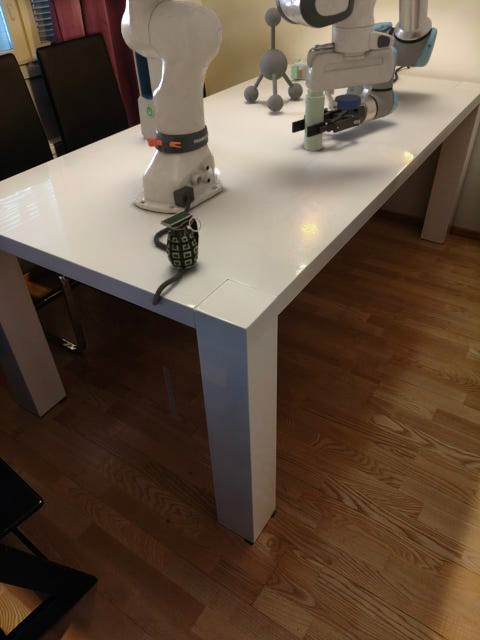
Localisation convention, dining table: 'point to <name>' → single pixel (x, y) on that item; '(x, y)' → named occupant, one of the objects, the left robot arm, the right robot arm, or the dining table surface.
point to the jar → (313, 118)
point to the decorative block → (299, 69)
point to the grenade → (182, 240)
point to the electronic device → (147, 91)
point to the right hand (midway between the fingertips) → (300, 129)
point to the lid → (348, 101)
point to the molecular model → (273, 68)
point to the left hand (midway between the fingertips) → (347, 106)
